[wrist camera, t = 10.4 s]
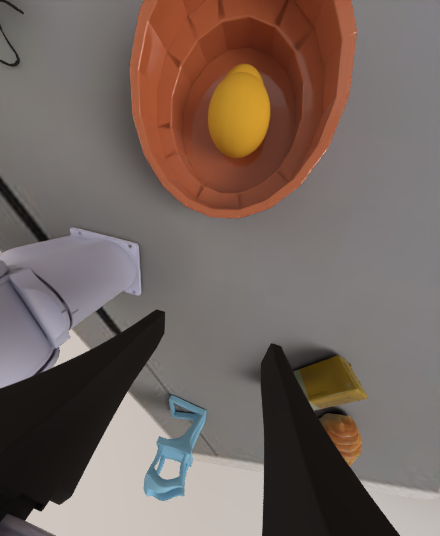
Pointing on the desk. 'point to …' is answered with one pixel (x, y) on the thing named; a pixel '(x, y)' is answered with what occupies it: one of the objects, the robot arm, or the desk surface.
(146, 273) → the desk surface
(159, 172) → the bowl
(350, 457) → the pastry
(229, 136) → the blob
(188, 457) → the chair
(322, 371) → the medication box
